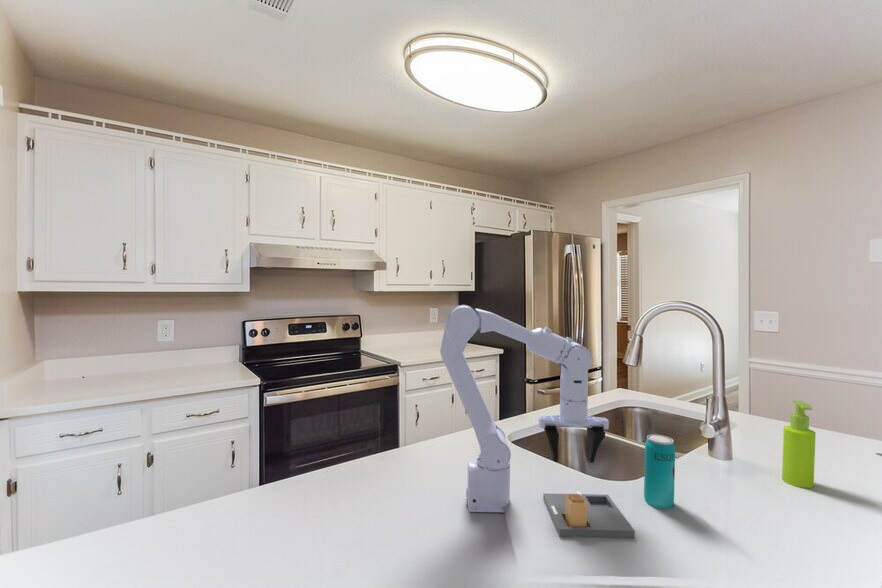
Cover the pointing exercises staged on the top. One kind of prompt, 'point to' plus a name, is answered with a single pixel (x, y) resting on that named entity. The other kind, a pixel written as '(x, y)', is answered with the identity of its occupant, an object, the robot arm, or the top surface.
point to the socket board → (590, 517)
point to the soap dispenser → (799, 449)
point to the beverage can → (659, 471)
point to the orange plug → (575, 511)
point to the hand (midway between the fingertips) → (572, 460)
